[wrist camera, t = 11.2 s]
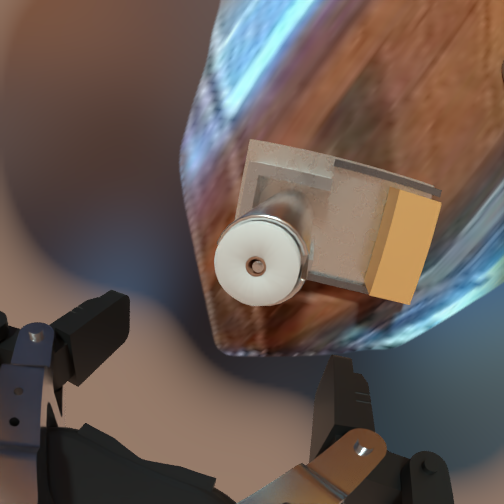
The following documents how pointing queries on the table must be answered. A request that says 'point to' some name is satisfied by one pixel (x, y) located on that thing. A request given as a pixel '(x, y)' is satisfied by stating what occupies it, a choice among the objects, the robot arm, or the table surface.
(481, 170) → the table surface
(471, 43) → the table surface
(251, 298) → the air filter
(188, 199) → the table surface
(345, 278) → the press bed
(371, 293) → the block
